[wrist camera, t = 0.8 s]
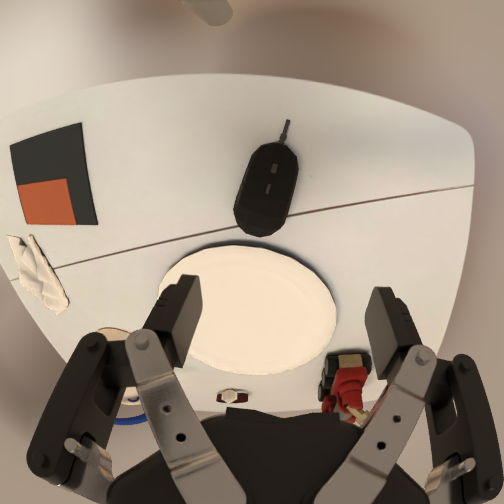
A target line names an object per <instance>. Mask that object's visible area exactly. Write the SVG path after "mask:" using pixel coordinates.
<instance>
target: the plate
mask: <svg viewBox="0 0 504 504" xmlns="http://www.w3.org/2000/svg"><path fill="white" fill-rule="evenodd" d="M182 274H189V275H198V276H199V278H200V285H201V292H202V300H203V308H202V313H201V316H200V319H199V322H198V325H197V327H196V330H195V333H194V336H193V339H192V342H191V345H190V347H189V350H188V354H190V355H191V356H193V357H194V358H196V359H197V360H199V361H201V362H204V363H206V364H208V365H210V366H212V367H214V368H218V369H221V370H225V371H228V372H232V373H239V374H247V375H268V374H275V373H280V372H285V371H289V370H291V369H294V368H296V367H299V366H301V365H304V364H306V363H307V362H309V361H310V360H311V359H313V358H314V357H316V356H317V355H318V354H320V353H321V351H322V350H323V349H324V348H325V347H326V345H327V344H328V343H329V342H330V340H331V338H332V335H333V332H334V330H335V327H336V306H335V304H334V301H333V299H332V296H331V294H330V291H329V289H328V288H327V287H326V285H325V284H324V283H323V282H322V281H321V280H320V278H319V277H318V276H317V275H316V274H315V273H314V272H313V271H312V270H310V269H309V268H307V267H306V266H304V265H303V264H301V263H299V262H298V261H296V260H295V259H293V258H292V257H289V256H286V255H283V254H281V253H278V252H275V251H272V250H269V249H266V248H262V247H252V246H242V245H227V246H219V247H212V248H205V249H203V250H201V251H198V252H196V253H194V254H191V255H189V256H187V257H184V258H183V259H181V260H180V261H179V262H178V263H177V264H176V265H175V266H173V267H172V268H171V269H170V270H169V271H168V272H167V274H166V275H165V277H164V279H163V281H162V283H161V285H160V287H159V291H158V299H159V296H160V295H161V293H162V291H163V290H164V289H165V288H166V287H167V286H169V285H170V284H177V282H178V280H179V278H180V277H181V275H182ZM158 299H157V300H158Z"/></svg>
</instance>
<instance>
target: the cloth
mask: <svg viewBox="0 0 504 504" xmlns="http://www.w3.org/2000/svg"><path fill="white" fill-rule="evenodd" d="M7 237H8V240H9V243H10V246H11V248H12V251H13V254H14V257H15V259H16V262H17V264H18V273H19V280H20V282H21V285H23V287H25V288H26V289H27V290H28V291H29V292H31V293H32V294H33V295H34V296H36V297H37V298H38V299H40V300H41V301H42V302H43V303H44V304H45V306H46V307H47V308H48V309H51V310H52V311H54V312H55V314H57V315H58V314H59V313H61V312H62V311H64V310H65V309H66V308H67V307H68V304H69V301H68V299H67V298H66V297H65V292H64V290H63V288H62V286H61V284H60V282H59V281H58V278H57V276H56V275H55V274H54V272H53V270H52V268H51V266H50V265H49V264H48V262H47V259H46V258H45V256H44V255H43V254H42V252H41V251H40V249H39V246H38V245H37V243H36V242H35V241H34V240H33V237H32V236H29V237H28V243H29V244H28V246H27V247H26V246H25V245H24V243H23V242H22V240H21V239H20V238H18V237H13V236H8V235H7Z"/></svg>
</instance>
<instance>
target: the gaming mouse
mask: <svg viewBox="0 0 504 504" xmlns="http://www.w3.org/2000/svg"><path fill="white" fill-rule="evenodd" d="M289 123H290V120H286V124H285V127H284V130H283V133H282V134H281V136H280V141H279V143H271V144H266V145H261V146H260V147H259V148H258V149H257V150H256V151H255V152H254V153H253V154H252V156H251V159H250V161H249V164H248V166H247V169H246V172H245V174H244V177H243V180H242V183H241V186H240V189H239V191H238V194H237V197H236V201H235V204H234V208H233V211H234V215H235V219H236V222H237V224H238V226H239V227H240V228H241V229H242V230H243V231H244V232H245V233H246V234H249V235H253V236H256V237H264V236H269V235H272V234H273V233H275V232H276V231H277V230H279V229H280V228H281V227H282V226H283V225H284V223H285V220H286V217H287V215H288V212H289V208H290V204H291V200H292V197H293V193H294V189H295V185H296V180H297V175H298V170H299V168H298V162H297V156H296V155H294V153H293V152H292V151H291V150H290V149H289V148H288V147H287V146H285V145H284V141H285V140H286V136H287V135H286V132H287V129H288V126H289Z"/></svg>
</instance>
